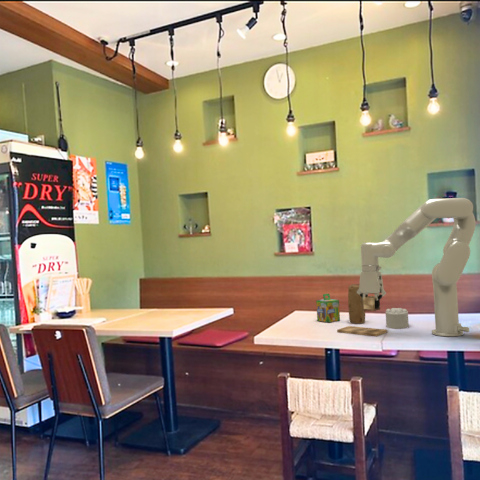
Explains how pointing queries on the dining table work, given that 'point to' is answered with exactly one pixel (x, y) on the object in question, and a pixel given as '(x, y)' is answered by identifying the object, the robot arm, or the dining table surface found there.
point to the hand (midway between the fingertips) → (371, 308)
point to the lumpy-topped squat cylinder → (397, 318)
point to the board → (362, 331)
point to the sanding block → (369, 303)
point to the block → (355, 305)
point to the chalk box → (328, 309)
